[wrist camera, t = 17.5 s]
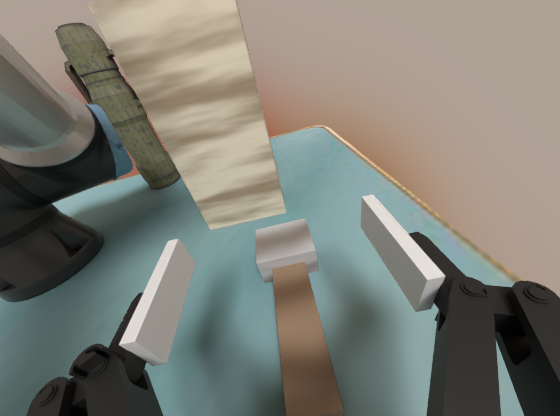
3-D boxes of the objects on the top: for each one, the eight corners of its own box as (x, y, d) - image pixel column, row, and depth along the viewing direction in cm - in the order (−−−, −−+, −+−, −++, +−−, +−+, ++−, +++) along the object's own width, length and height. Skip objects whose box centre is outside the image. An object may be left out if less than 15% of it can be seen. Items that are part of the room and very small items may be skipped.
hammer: (364, 413, 16) (366, 400, 13) (273, 432, 16) (259, 421, 13) (308, 238, 31) (304, 218, 29) (263, 249, 31) (255, 229, 29)
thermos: (149, 181, 64) (54, 36, 44) (187, 169, 65) (111, 23, 45) (140, 194, 57) (22, 29, 36) (183, 181, 58) (92, 14, 37)
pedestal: (286, 212, 37) (226, -36, 19) (210, 230, 37) (86, 3, 20) (280, 185, 45) (235, -7, 28) (218, 200, 46) (135, 20, 28)
